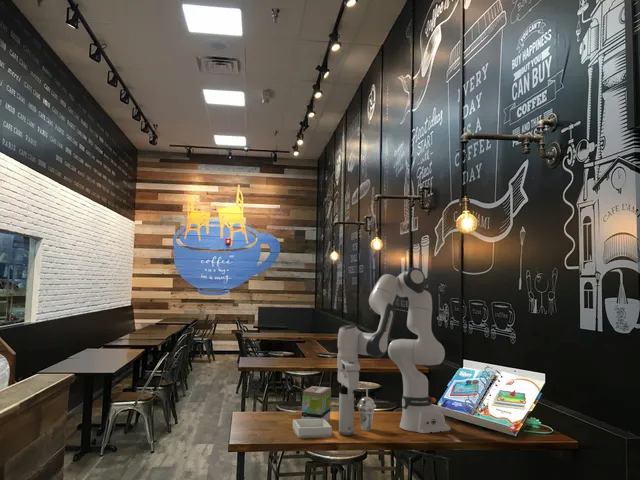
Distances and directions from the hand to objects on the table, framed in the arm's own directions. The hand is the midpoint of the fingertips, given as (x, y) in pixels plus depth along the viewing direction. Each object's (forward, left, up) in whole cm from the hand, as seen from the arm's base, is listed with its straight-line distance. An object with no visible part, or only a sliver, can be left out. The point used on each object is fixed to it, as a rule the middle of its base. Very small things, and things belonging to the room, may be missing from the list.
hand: (347, 396), depth 216 cm
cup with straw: (-11, -7, -16) cm, 20 cm away
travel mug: (0, 0, -15) cm, 15 cm away
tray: (+14, -4, -16) cm, 21 cm away
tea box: (+8, -23, -16) cm, 29 cm away
